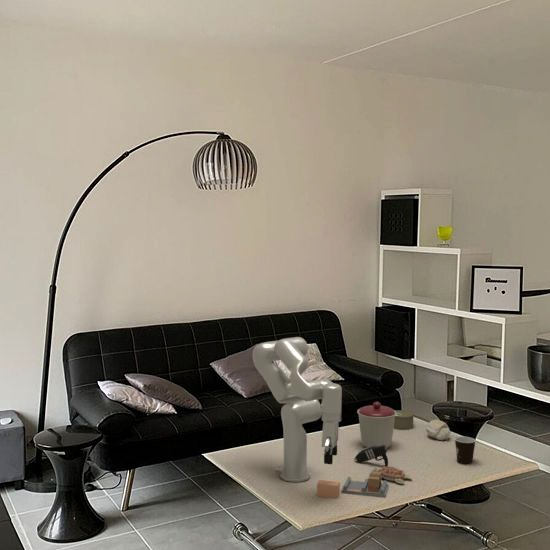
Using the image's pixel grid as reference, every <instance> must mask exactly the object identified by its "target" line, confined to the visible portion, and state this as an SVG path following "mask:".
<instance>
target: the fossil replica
mask: <svg viewBox="0 0 550 550" xmlns="http://www.w3.org/2000/svg"><path fill="white" fill-rule="evenodd" d="M425 431H426V433H427V434H428V435H429V437H430V438H433V439H436V440H437V441H444V440H448V439H449V438H450V435H451V431H450V427H449V426H448V424H447V423H446V422H444V421H442V420H440V419H433V420H430V421H429V423H428V425H427V426H426V427H425Z"/></svg>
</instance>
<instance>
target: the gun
mask: <svg viewBox="0 0 550 550" xmlns="http://www.w3.org/2000/svg"><path fill="white" fill-rule="evenodd" d="M387 453H388V448H386V446H385V445H382V446H373V447H368V448H366V447H365V448H363V449H361V450H360V451H359V452H358V453H357V454H356V455H355V456H354V458H353V460H354V461H356V462H357V464H362V463H366V462H368V461H371V460H373V459H374V460H376V462H377V461H378V462H379V461H382V460H383V462H384V467H387V466H388V465H389V458H388V456H387Z"/></svg>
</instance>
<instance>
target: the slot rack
mask: <svg viewBox="0 0 550 550" xmlns="http://www.w3.org/2000/svg"><path fill="white" fill-rule="evenodd" d="M382 481H383V483H381V486H380V489H379V492H373V491H368V478H365V479H364V481H360V480H359V481H358V480H352V477H351V476H348V477H347V478H346V480H345V482H344V484H343V486H342V489H341V491H340V492H341V494H348V495H349V494H350V495H359V496H365V497H366V496H369V497H376V498H377V497H378V498H386V496H387V494H388V490H389V487H390V485H389V484H388V480H382Z"/></svg>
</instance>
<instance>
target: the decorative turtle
mask: <svg viewBox="0 0 550 550" xmlns="http://www.w3.org/2000/svg"><path fill="white" fill-rule="evenodd" d="M372 471H374V472H381V484H383V481H384V480H385V481H391V482H396V483H397V484H401V485H403V484H405V483H406V482H405V480H404V479H409V480H413V477H412V476H409V475H406V474H405V473H404V471H405V470H404V469H398V468H396V467H394V466H390V465H389V466H387V467H385V466H382V467H380V468H379V467H374V468H373V469H372ZM382 479H384V480H382Z"/></svg>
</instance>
